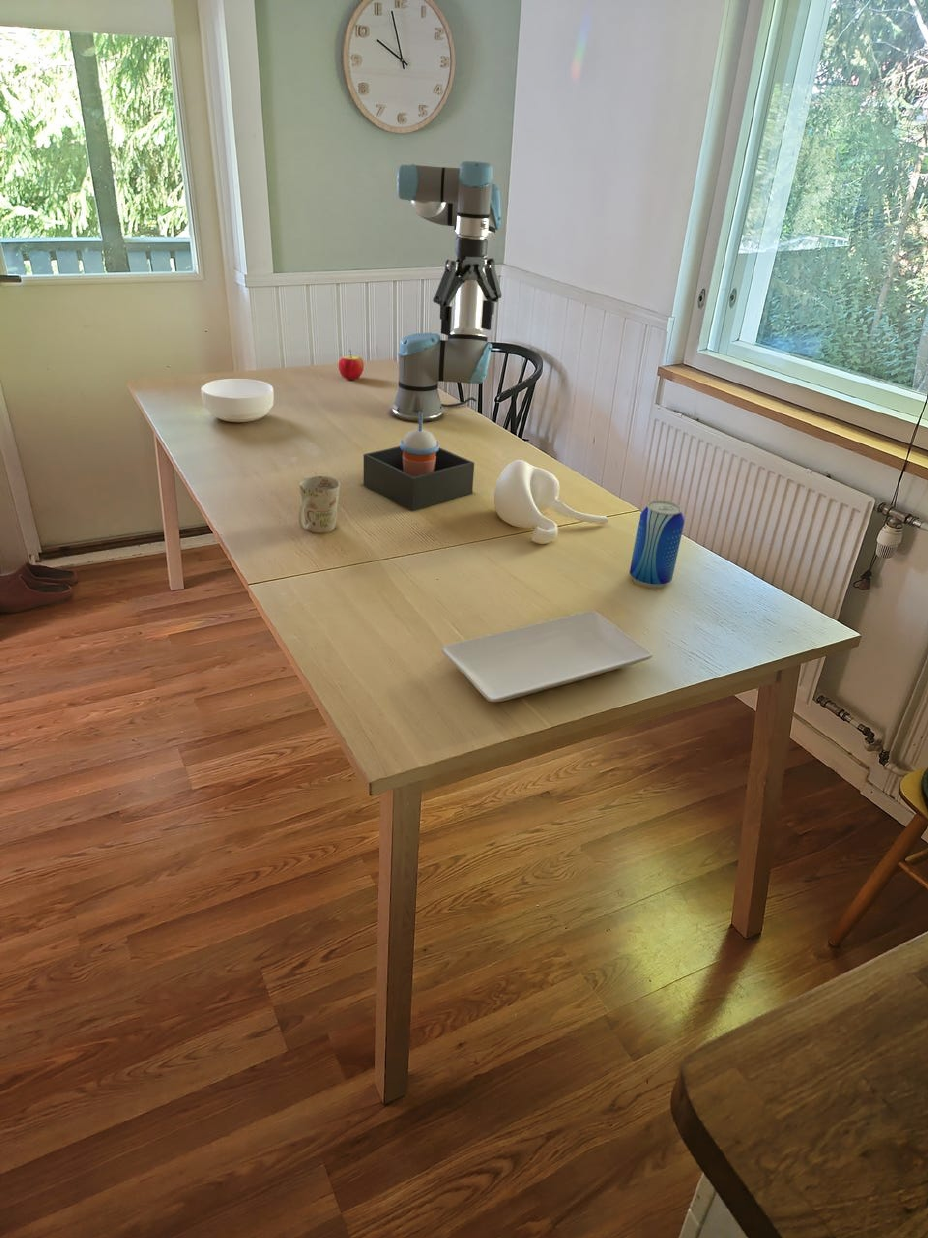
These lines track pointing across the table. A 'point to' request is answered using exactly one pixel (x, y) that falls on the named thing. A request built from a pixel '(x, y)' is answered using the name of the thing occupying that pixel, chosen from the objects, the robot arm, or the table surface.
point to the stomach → (533, 501)
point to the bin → (418, 478)
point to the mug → (319, 503)
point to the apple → (351, 367)
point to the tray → (544, 655)
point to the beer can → (657, 544)
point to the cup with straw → (419, 451)
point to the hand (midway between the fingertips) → (466, 331)
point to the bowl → (238, 399)
